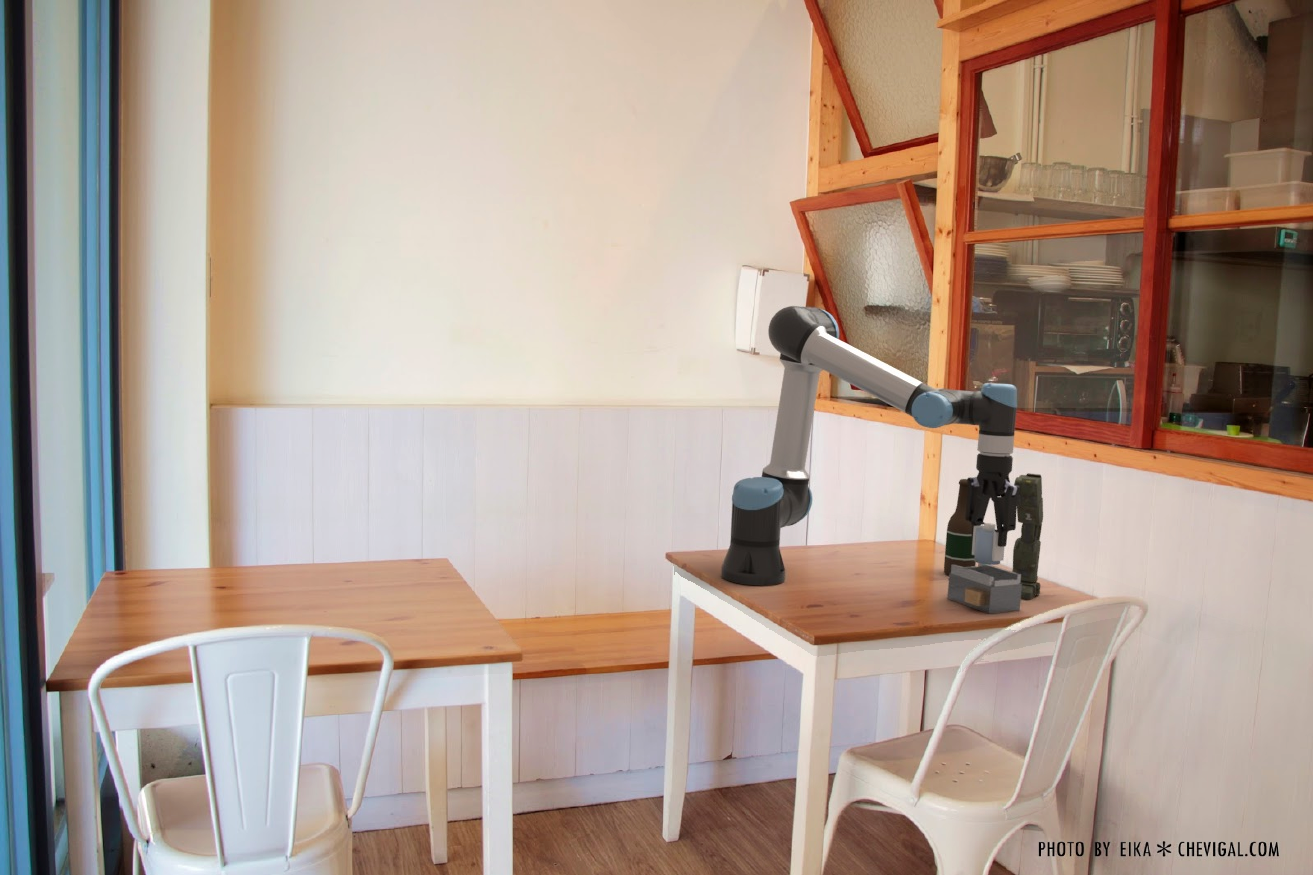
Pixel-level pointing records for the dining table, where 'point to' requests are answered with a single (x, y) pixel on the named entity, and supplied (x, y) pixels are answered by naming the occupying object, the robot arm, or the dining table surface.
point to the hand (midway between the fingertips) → (987, 557)
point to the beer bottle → (959, 534)
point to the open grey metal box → (985, 588)
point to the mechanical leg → (1028, 533)
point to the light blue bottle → (985, 545)
